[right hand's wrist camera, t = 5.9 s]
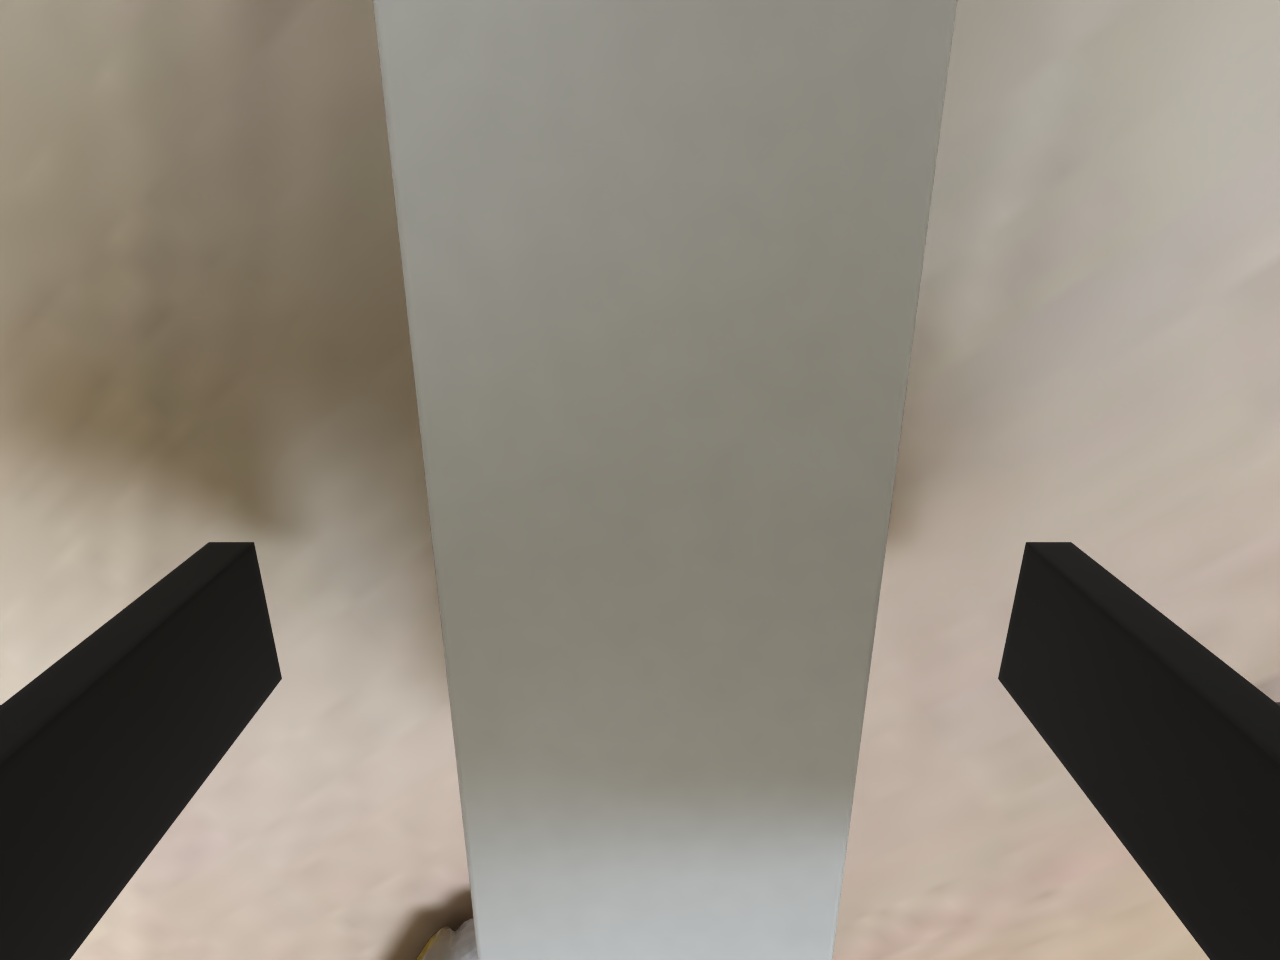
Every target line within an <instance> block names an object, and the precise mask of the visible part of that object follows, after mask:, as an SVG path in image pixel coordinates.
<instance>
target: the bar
mask: <svg viewBox="0 0 1280 960" xmlns="http://www.w3.org/2000/svg"><path fill="white" fill-rule="evenodd" d="M956 4H957V0H373V6H374V15H375V24H376V33H377V42H378V51H379V60H380V70H381V79H382V88H383V97H384V106H385V115H386V124H387V133H388V143H389V152H390V161H391V170H392V179H393V188H394V197H395V206H396V215H397V225H398V234H399V243H400V252H401V261H402V270H403V279H404V288H405V298H406V307H407V316H408V325H409V334H410V343H411V352H412V361H413V371H414V380H415V389H416V398H417V407H418V416H419V425H420V434H421V444H422V453H423V462H424V471H425V480H426V489H427V498H428V507H429V517H430V526H431V535H432V544H433V553H434V562H435V571H436V580H437V590H438V599H439V608H440V617H441V626H442V635H443V644H444V653H445V663H446V672H447V681H448V690H449V699H450V708H451V717H452V726H453V736H454V745H455V754H456V763H457V772H458V781H459V790H460V799H461V809H462V818H463V827H464V836H465V845H466V854H467V863H468V872H469V881H470V891H471V900H472V909H473V918H474V927H475V936H476V945H477V954H478V960H832V957H833V949H834V941H835V934H836V926H837V918H838V911H839V903H840V895H841V888H842V880H843V872H844V865H845V857H846V849H847V842H848V834H849V826H850V819H851V811H852V803H853V796H854V788H855V780H856V772H857V765H858V757H859V749H860V742H861V734H862V726H863V719H864V711H865V703H866V696H867V688H868V680H869V673H870V665H871V657H872V650H873V642H874V634H875V627H876V619H877V611H878V603H879V596H880V588H881V580H882V573H883V565H884V557H885V550H886V542H887V534H888V527H889V519H890V511H891V504H892V496H893V488H894V481H895V473H896V465H897V458H898V450H899V442H900V435H901V427H902V419H903V411H904V404H905V396H906V388H907V381H908V373H909V365H910V358H911V350H912V342H913V335H914V327H915V319H916V312H917V304H918V296H919V289H920V281H921V273H922V266H923V258H924V250H925V242H926V235H927V227H928V219H929V212H930V204H931V196H932V189H933V181H934V173H935V166H936V158H937V150H938V143H939V135H940V127H941V120H942V112H943V104H944V97H945V89H946V81H947V73H948V66H949V58H950V50H951V43H952V35H953V27H954V20H955V12H956Z"/></svg>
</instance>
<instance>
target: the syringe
mask: <svg viewBox="0 0 1280 960" xmlns="http://www.w3.org/2000/svg"><path fill="white" fill-rule="evenodd" d="M416 960H478V954H477V945H476V936H475V927H474V918H472V919H469V920H467V921H465V922H464V923H463V924H461V925H460V926H459V928H458V929H457V930H456V931H453V930H451V929H450V928H449V927H448V926H445V927H443V928H441V929H440V930H439V931H437V932H436V933H435V934H434V935H433V936H432V937H431V938H430V939H429V941H428V942H427V944H426V945H425V947H424V948H423V950H422V951H421V953H420V954H419V956H418V957H417V959H416Z"/></svg>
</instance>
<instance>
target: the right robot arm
mask: <svg viewBox="0 0 1280 960" xmlns="http://www.w3.org/2000/svg"><path fill="white" fill-rule="evenodd" d="M281 679H282V677H281V672H280V667H279V662H278V658H277V653H276V648H275V643H274V638H273V633H272V628H271V623H270V618H269V613H268V609H267V604H266V599H265V594H264V589H263V584H262V579H261V574H260V569H259V564H258V560H257V555H256V550H255V545H254V542H209V543H207V544H206V545H205V546H204V547H202V548H201V549H200V550H199V551H197V552H196V553H195V554H193V555H192V556H191V557H190V558H188V559H187V560H186V561H184V562H183V563H182V564H181V565H179V566H178V567H177V568H176V569H174V570H173V571H172V572H170V573H169V574H168V575H167V576H165V577H164V578H163V579H162V580H160V581H159V582H158V583H156V584H155V585H154V586H153V587H151V588H150V589H149V590H148V591H146V592H145V593H144V594H142V595H141V596H140V597H139V598H137V599H136V600H135V601H134V602H132V603H131V604H130V605H128V606H127V607H126V608H125V609H123V610H122V611H121V612H119V613H118V614H117V615H116V616H114V617H113V618H112V619H111V620H109V621H108V622H107V623H105V624H104V625H103V626H102V627H100V628H99V629H98V630H97V631H95V632H94V633H93V634H91V635H90V636H89V637H88V638H86V639H85V640H84V641H83V642H81V643H80V644H79V645H77V646H76V647H75V648H74V649H72V650H71V651H70V652H68V653H67V654H66V655H65V656H63V657H62V658H61V659H60V660H58V661H57V662H56V663H54V664H53V665H52V666H51V667H49V668H48V669H47V670H46V671H44V672H43V673H42V674H40V675H39V676H38V677H37V678H35V679H34V680H33V681H32V682H30V683H29V684H28V685H26V686H25V687H24V688H23V689H21V690H20V691H19V692H17V693H16V694H15V695H14V696H12V697H11V698H10V699H9V700H7V701H6V702H5V703H3V704H2V705H0V960H70V959H71V957H72V956H73V955H74V953H75V952H76V951H77V949H78V948H79V947H80V945H81V944H82V943H83V941H84V940H85V939H86V937H87V936H88V935H89V933H90V932H91V931H92V930H93V928H94V927H95V926H96V924H97V923H98V922H99V920H100V919H101V918H102V916H103V915H104V914H105V912H106V911H107V910H108V908H109V907H110V906H111V904H112V903H113V902H114V900H115V899H116V898H117V896H118V895H119V894H120V892H121V891H122V890H123V888H124V887H125V886H126V884H127V883H128V882H129V880H130V879H131V878H132V877H133V875H134V874H135V873H136V871H137V870H138V869H139V867H140V866H141V865H142V863H143V862H144V861H145V859H146V858H147V857H148V855H149V854H150V853H151V851H152V850H153V849H154V847H155V846H156V845H157V843H158V842H159V841H160V839H161V838H162V837H163V835H164V834H165V833H166V831H167V830H168V829H169V828H170V826H171V825H172V824H173V822H174V821H175V820H176V818H177V817H178V816H179V814H180V813H181V812H182V810H183V809H184V808H185V806H186V805H187V804H188V802H189V801H190V800H191V798H192V797H193V796H194V794H195V793H196V792H197V790H198V789H199V788H200V786H201V785H202V784H203V782H204V781H205V780H206V778H207V777H208V776H209V775H210V773H211V772H212V771H213V769H214V768H215V767H216V765H217V764H218V763H219V761H220V760H221V759H222V757H223V756H224V755H225V753H226V752H227V751H228V749H229V748H230V747H231V745H232V744H233V743H234V741H235V740H236V739H237V737H238V736H239V735H240V733H241V732H242V731H243V729H244V728H245V727H246V725H247V724H248V723H249V722H250V720H251V719H252V718H253V716H254V715H255V714H256V712H257V711H258V710H259V708H260V707H261V706H262V704H263V703H264V702H265V700H266V699H267V698H268V696H269V695H270V694H271V692H272V691H273V690H274V688H275V687H276V686H277V684H278V683H279V682H280V680H281ZM998 679H999V680H1000V682H1001V683H1002V684H1003V686H1004V687H1005V688H1006V690H1007V691H1008V692H1009V694H1010V695H1011V696H1012V698H1013V699H1014V700H1015V702H1016V703H1017V704H1018V706H1019V707H1020V708H1021V710H1022V711H1023V712H1024V714H1025V715H1026V716H1027V718H1028V719H1029V720H1030V722H1031V723H1032V724H1033V725H1034V727H1035V728H1036V729H1037V731H1038V732H1039V733H1040V735H1041V736H1042V737H1043V739H1044V740H1045V741H1046V743H1047V744H1048V745H1049V747H1050V748H1051V749H1052V751H1053V752H1054V753H1055V755H1056V756H1057V757H1058V759H1059V760H1060V761H1061V763H1062V764H1063V765H1064V767H1065V768H1066V769H1067V771H1068V772H1069V773H1070V775H1071V776H1072V777H1073V778H1074V780H1075V781H1076V782H1077V784H1078V785H1079V786H1080V788H1081V789H1082V790H1083V792H1084V793H1085V794H1086V796H1087V797H1088V798H1089V800H1090V801H1091V802H1092V804H1093V805H1094V806H1095V808H1096V809H1097V810H1098V812H1099V813H1100V814H1101V816H1102V817H1103V818H1104V820H1105V821H1106V822H1107V824H1108V825H1109V826H1110V828H1111V829H1112V830H1113V831H1114V833H1115V834H1116V835H1117V837H1118V838H1119V839H1120V841H1121V842H1122V843H1123V845H1124V846H1125V847H1126V849H1127V850H1128V851H1129V853H1130V854H1131V855H1132V857H1133V858H1134V859H1135V861H1136V862H1137V863H1138V865H1139V866H1140V867H1141V869H1142V870H1143V871H1144V873H1145V874H1146V875H1147V877H1148V878H1149V879H1150V880H1151V882H1152V883H1153V884H1154V886H1155V887H1156V888H1157V890H1158V891H1159V892H1160V894H1161V895H1162V896H1163V898H1164V899H1165V900H1166V902H1167V903H1168V904H1169V906H1170V907H1171V908H1172V910H1173V911H1174V912H1175V914H1176V915H1177V916H1178V918H1179V919H1180V920H1181V922H1182V923H1183V924H1184V926H1185V927H1186V928H1187V930H1188V931H1189V932H1190V933H1191V935H1192V936H1193V937H1194V939H1195V940H1196V941H1197V943H1198V944H1199V945H1200V947H1201V948H1202V949H1203V951H1204V952H1205V953H1206V955H1207V956H1208V957H1209V959H1210V960H1280V702H1274V701H1273V700H1271V699H1270V698H1269V697H1268V696H1266V695H1265V694H1264V693H1263V692H1261V691H1260V690H1259V689H1257V688H1256V687H1255V686H1254V685H1252V684H1251V683H1250V682H1248V681H1247V680H1246V679H1245V678H1243V677H1242V676H1241V675H1240V674H1238V673H1237V672H1236V671H1234V670H1233V669H1232V668H1231V667H1229V666H1228V665H1227V664H1226V663H1224V662H1223V661H1222V660H1220V659H1219V658H1218V657H1217V656H1215V655H1214V654H1213V653H1212V652H1210V651H1209V650H1208V649H1206V648H1205V647H1204V646H1203V645H1201V644H1200V643H1199V642H1197V641H1196V640H1195V639H1194V638H1192V637H1191V636H1190V635H1189V634H1187V633H1186V632H1185V631H1183V630H1182V629H1181V628H1180V627H1178V626H1177V625H1176V624H1175V623H1173V622H1172V621H1171V620H1169V619H1168V618H1167V617H1166V616H1164V615H1163V614H1162V613H1161V612H1159V611H1158V610H1157V609H1155V608H1154V607H1153V606H1152V605H1150V604H1149V603H1148V602H1146V601H1145V600H1144V599H1143V598H1141V597H1140V596H1139V595H1138V594H1136V593H1135V592H1134V591H1132V590H1131V589H1130V588H1129V587H1127V586H1126V585H1125V584H1124V583H1122V582H1121V581H1120V580H1118V579H1117V578H1116V577H1115V576H1113V575H1112V574H1111V573H1110V572H1108V571H1107V570H1106V569H1104V568H1103V567H1102V566H1101V565H1099V564H1098V563H1097V562H1096V561H1094V560H1093V559H1092V558H1090V557H1089V556H1088V555H1087V554H1085V553H1084V552H1083V551H1081V550H1080V549H1079V548H1078V547H1076V546H1075V545H1074V544H1073V543H1071V542H1026V545H1025V550H1024V555H1023V560H1022V564H1021V569H1020V574H1019V579H1018V584H1017V589H1016V594H1015V599H1014V604H1013V609H1012V613H1011V618H1010V623H1009V628H1008V633H1007V638H1006V643H1005V648H1004V653H1003V658H1002V662H1001V667H1000V672H999V677H998Z"/></svg>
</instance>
